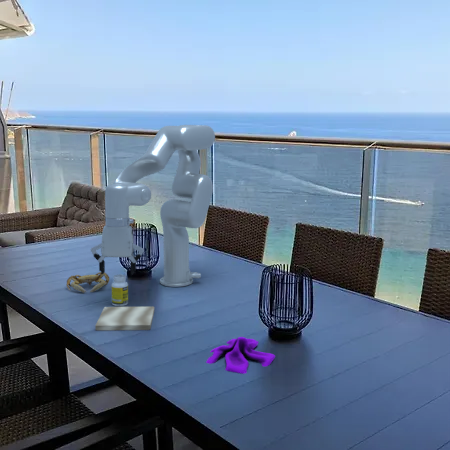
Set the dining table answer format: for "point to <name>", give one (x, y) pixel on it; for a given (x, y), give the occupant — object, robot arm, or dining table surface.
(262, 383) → the dining table surface
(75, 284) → the crab model
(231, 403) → the dining table surface
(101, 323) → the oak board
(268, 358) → the cloth
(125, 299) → the supplement bottle
